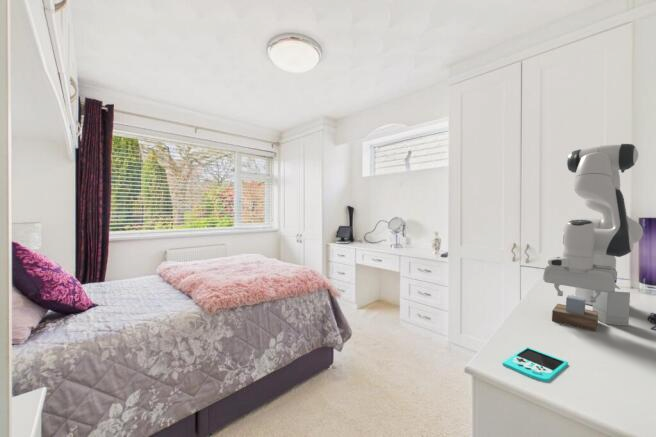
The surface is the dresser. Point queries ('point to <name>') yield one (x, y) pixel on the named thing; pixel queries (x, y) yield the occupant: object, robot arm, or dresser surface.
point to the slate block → (575, 304)
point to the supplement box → (613, 307)
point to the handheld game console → (535, 364)
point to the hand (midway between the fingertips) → (576, 298)
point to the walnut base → (575, 317)
